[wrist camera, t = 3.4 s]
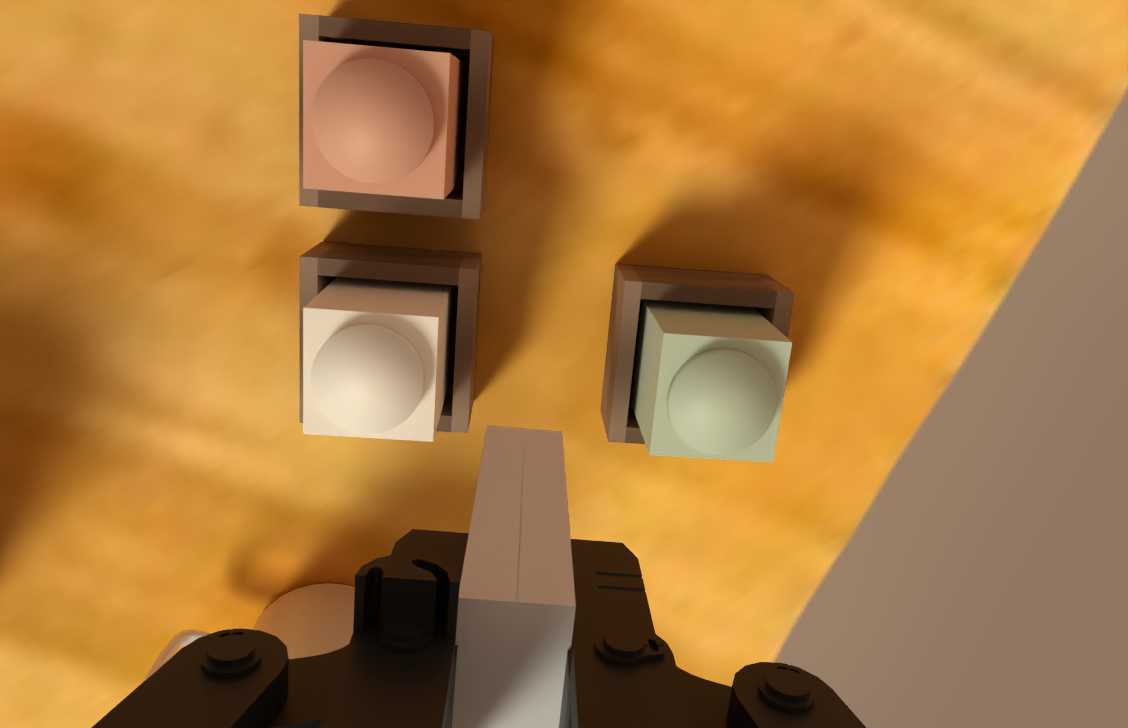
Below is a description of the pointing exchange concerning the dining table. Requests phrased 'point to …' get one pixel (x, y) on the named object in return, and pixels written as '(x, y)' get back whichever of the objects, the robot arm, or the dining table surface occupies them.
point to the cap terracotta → (380, 120)
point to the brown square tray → (681, 288)
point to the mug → (295, 622)
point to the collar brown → (478, 110)
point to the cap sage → (709, 381)
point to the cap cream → (376, 359)
